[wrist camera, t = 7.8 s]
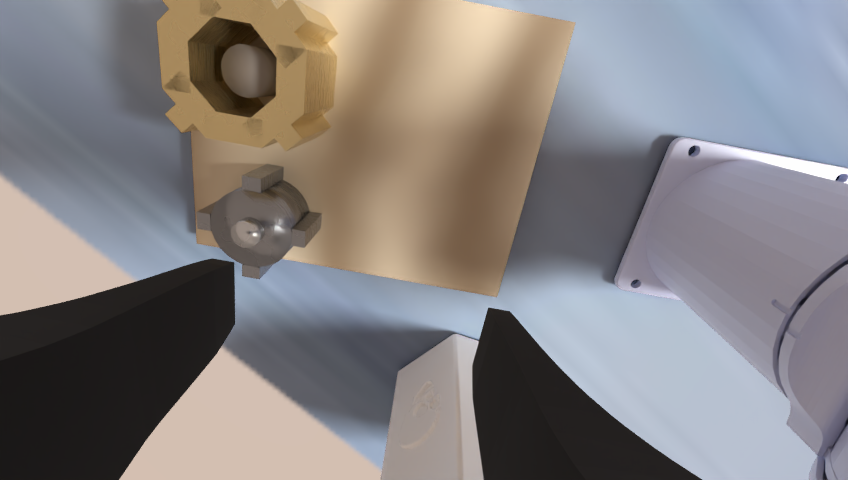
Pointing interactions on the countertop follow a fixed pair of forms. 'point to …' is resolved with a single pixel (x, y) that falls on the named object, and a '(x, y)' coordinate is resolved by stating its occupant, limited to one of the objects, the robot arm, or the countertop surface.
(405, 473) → the jar
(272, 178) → the gear
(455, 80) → the gear board
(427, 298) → the countertop surface
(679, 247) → the robot arm
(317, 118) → the brass gear
